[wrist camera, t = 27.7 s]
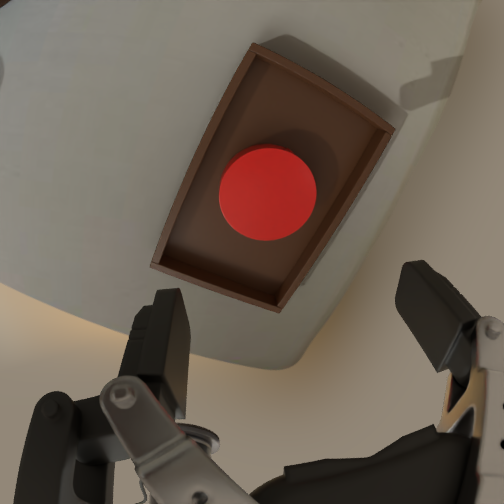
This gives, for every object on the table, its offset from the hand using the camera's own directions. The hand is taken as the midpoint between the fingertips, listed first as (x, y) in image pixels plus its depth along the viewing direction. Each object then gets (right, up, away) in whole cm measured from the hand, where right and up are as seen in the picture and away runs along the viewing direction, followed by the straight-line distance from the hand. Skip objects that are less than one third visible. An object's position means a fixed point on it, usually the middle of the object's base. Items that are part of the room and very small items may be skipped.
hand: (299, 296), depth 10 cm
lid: (-1, +5, +9) cm, 11 cm away
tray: (-1, +6, +11) cm, 13 cm away
